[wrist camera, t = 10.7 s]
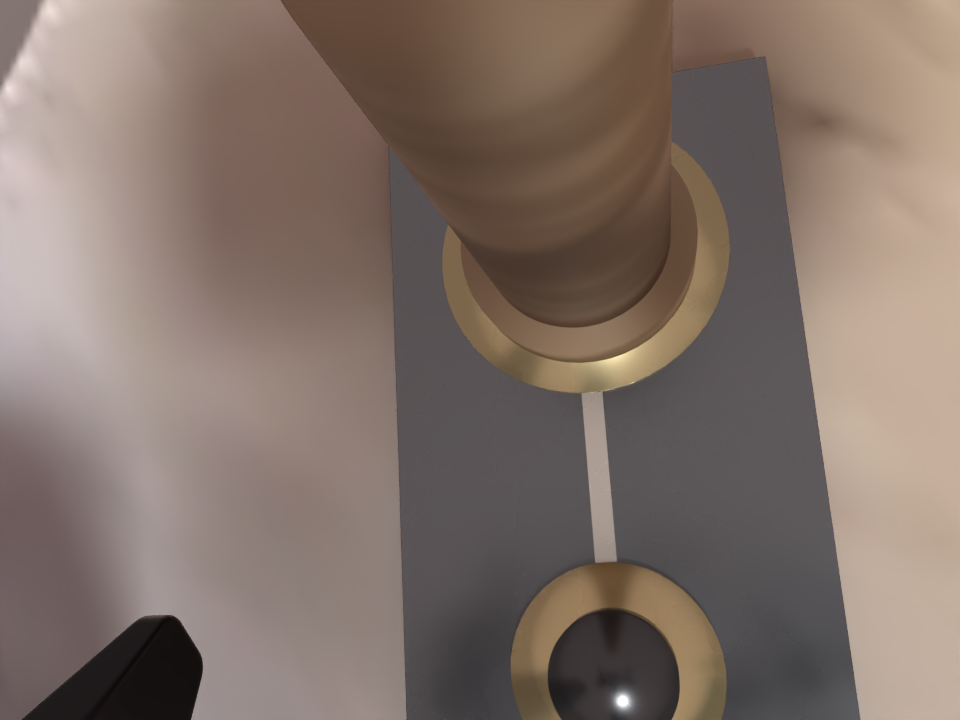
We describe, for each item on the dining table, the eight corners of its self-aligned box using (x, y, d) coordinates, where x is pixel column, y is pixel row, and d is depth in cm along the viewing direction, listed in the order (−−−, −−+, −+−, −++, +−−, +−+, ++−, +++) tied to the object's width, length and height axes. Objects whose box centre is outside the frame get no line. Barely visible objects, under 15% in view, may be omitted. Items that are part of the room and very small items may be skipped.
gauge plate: (864, 787, 17) (883, 815, 15) (416, 779, 19) (394, 802, 17) (762, 69, 20) (770, 32, 19) (394, 131, 22) (374, 104, 21)
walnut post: (602, 408, 19) (497, 239, 7) (430, 280, 20) (124, -21, 9) (743, 224, 19) (860, -231, 7) (560, 111, 20) (422, -403, 9)
